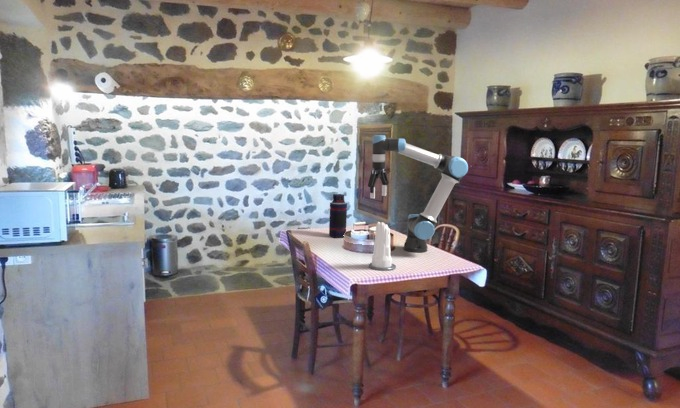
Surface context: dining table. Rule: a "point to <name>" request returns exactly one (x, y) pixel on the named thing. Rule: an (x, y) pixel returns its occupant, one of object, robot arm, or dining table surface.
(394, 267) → the disc
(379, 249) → the decorative vase
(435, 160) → the robot arm
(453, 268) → the dining table surface
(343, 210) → the black thermos flask
